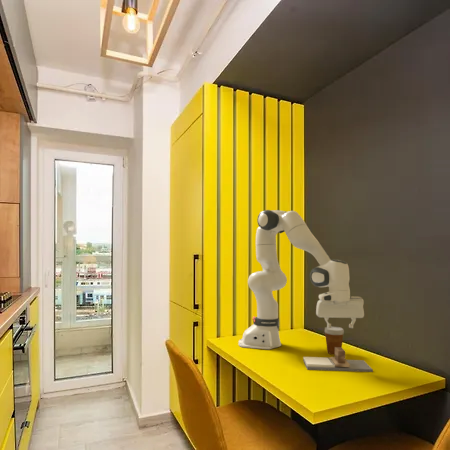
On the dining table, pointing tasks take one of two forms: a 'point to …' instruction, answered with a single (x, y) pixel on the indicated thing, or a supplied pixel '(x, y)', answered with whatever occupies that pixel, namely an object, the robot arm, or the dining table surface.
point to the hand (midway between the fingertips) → (340, 327)
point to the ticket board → (327, 364)
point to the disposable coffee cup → (333, 338)
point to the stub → (339, 358)
